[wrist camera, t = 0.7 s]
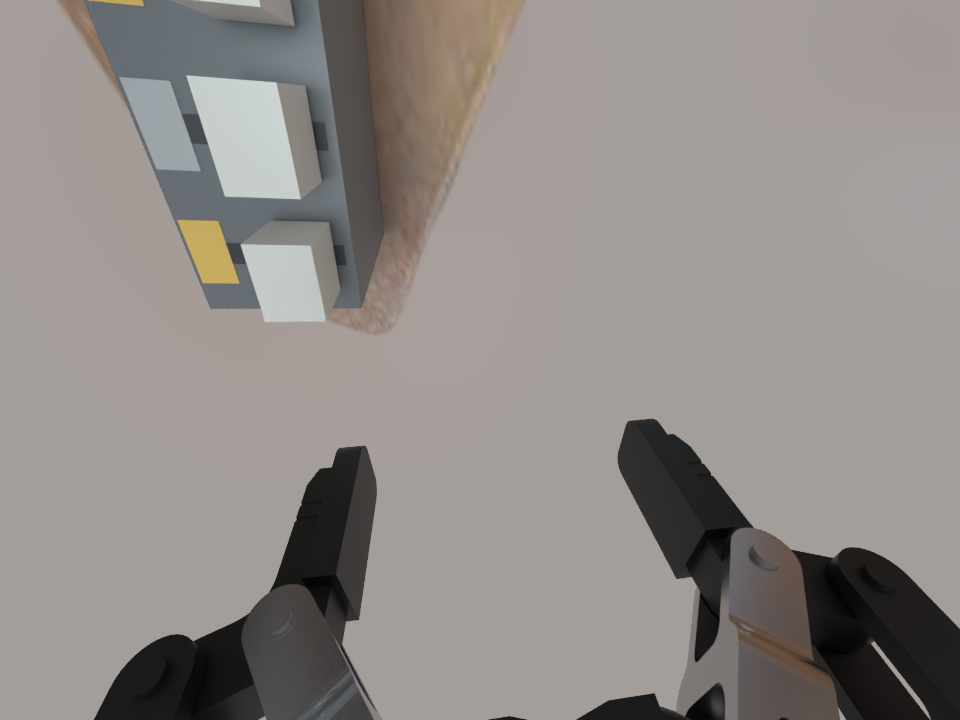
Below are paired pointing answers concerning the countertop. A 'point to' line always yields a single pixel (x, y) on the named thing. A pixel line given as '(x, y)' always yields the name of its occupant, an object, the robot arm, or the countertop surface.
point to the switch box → (184, 148)
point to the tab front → (245, 10)
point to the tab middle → (258, 136)
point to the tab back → (293, 270)
